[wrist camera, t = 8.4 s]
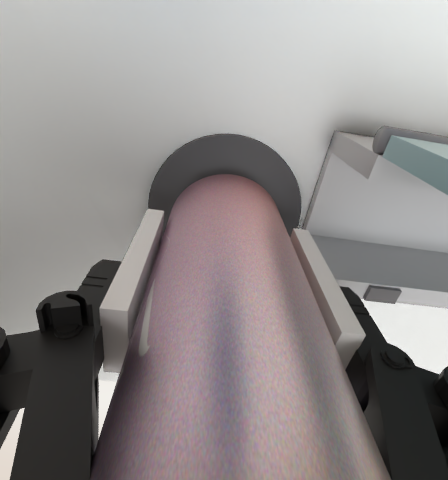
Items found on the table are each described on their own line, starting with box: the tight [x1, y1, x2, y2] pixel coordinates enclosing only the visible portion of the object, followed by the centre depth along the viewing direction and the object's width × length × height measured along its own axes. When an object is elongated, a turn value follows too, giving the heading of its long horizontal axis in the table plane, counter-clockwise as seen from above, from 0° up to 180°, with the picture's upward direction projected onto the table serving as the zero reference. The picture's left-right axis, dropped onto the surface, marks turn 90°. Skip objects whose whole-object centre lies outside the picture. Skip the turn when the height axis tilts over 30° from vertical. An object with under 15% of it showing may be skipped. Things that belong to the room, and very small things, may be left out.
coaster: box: [148, 134, 301, 237], centre depth 18 cm, size 9×9×1 cm
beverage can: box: [90, 174, 391, 480], centre depth 10 cm, size 6×6×15 cm
